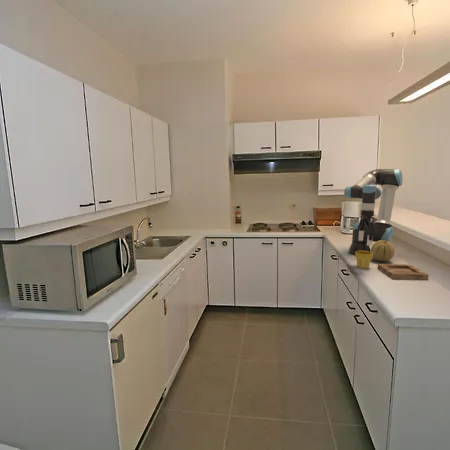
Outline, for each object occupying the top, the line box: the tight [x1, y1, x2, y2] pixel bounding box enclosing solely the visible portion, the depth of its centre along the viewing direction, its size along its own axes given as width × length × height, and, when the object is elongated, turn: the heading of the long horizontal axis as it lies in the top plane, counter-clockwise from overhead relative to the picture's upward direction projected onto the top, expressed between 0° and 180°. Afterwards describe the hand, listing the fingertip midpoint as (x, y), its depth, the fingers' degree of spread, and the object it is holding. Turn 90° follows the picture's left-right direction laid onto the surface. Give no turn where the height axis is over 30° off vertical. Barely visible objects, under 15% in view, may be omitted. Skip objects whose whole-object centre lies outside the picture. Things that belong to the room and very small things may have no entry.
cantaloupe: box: [370, 240, 395, 263], centre depth 219 cm, size 15×15×15 cm
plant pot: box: [354, 251, 374, 269], centre depth 206 cm, size 10×10×10 cm
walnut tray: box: [377, 263, 430, 281], centre depth 193 cm, size 20×20×3 cm
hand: (364, 242), depth 204 cm, fingers open, 13 cm apart
